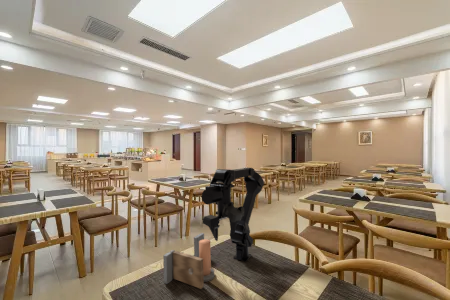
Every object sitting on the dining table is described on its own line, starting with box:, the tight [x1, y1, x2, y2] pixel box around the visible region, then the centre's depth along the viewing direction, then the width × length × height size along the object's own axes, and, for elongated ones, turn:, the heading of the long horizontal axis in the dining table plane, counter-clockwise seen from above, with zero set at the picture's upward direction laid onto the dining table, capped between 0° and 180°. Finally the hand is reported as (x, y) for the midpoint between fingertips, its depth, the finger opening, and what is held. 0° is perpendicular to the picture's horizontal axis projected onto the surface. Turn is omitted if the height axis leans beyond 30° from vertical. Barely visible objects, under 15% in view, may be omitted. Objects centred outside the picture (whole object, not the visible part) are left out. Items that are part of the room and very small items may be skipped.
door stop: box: [199, 238, 215, 283], centre depth 83 cm, size 7×7×14 cm
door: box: [169, 249, 205, 290], centre depth 79 cm, size 15×3×10 cm, turn 60°
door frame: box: [162, 232, 205, 285], centre depth 90 cm, size 24×2×10 cm, turn 150°
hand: (225, 237), depth 88 cm, fingers open, 9 cm apart
